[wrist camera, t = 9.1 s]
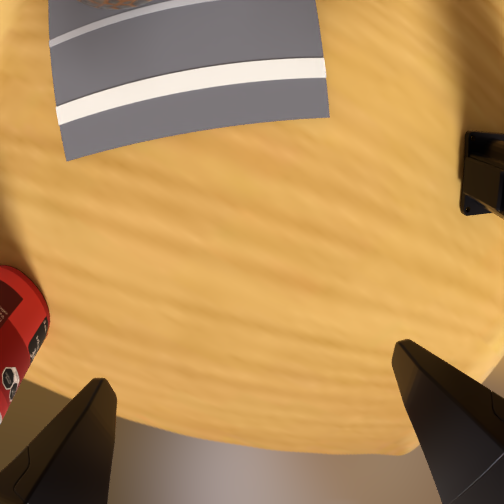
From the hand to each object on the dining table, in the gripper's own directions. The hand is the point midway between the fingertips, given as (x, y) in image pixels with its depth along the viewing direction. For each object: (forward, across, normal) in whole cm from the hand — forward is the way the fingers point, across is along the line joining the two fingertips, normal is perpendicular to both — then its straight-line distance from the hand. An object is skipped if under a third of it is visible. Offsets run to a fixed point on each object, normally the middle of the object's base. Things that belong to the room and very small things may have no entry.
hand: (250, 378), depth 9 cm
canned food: (+13, +20, +4) cm, 24 cm away
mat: (+12, +2, -14) cm, 19 cm away
